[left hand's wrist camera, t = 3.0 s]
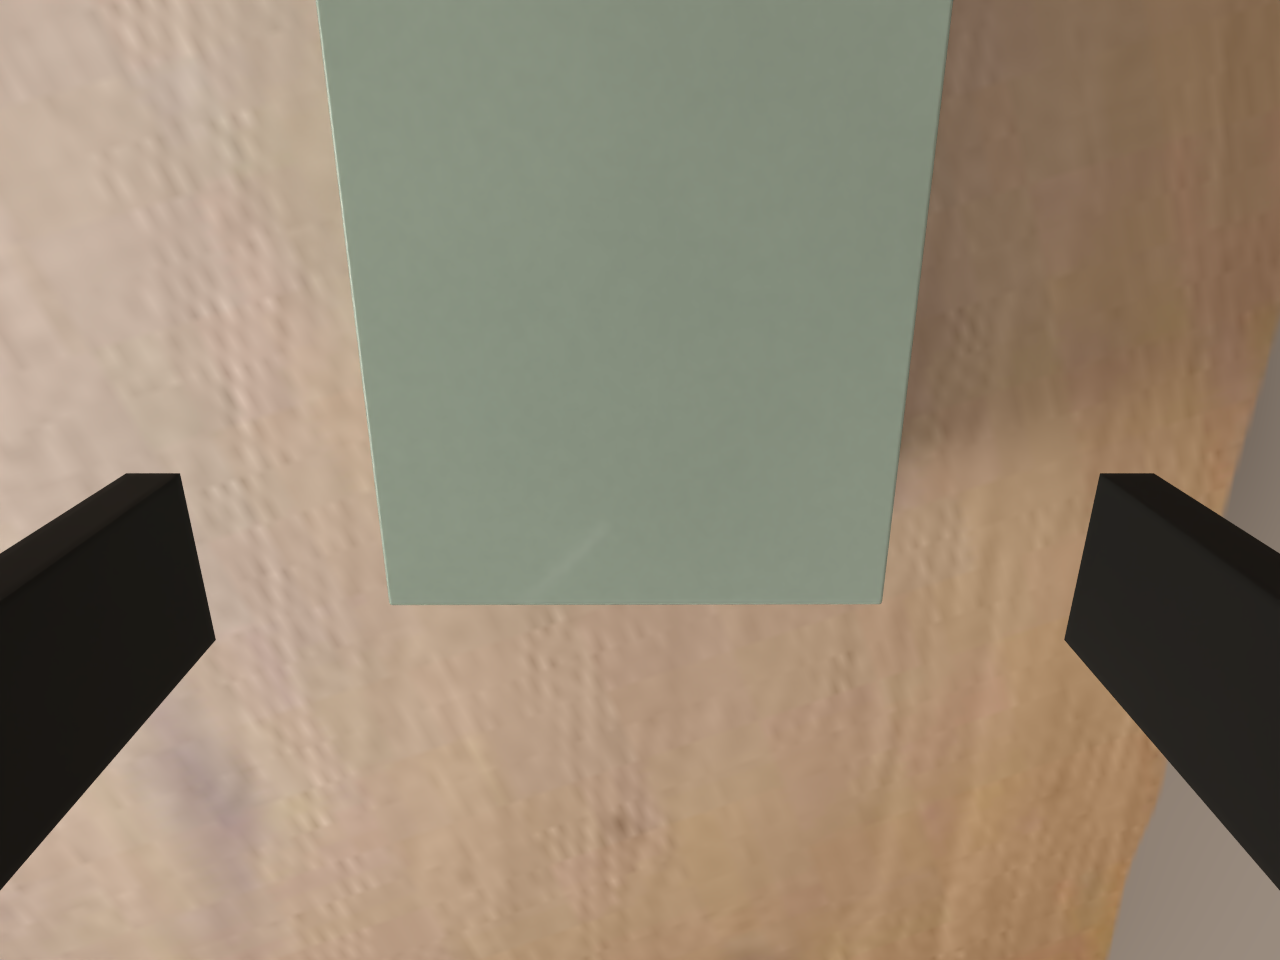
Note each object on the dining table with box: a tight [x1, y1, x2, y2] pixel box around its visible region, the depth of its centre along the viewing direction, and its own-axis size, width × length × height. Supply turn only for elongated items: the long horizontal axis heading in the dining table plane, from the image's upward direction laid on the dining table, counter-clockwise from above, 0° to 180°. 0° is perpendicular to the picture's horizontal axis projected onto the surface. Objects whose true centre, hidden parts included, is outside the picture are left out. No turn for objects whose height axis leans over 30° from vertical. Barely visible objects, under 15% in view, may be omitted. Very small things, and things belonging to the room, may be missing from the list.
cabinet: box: [316, 0, 953, 605], centre depth 20 cm, size 20×11×8 cm, turn 0°
